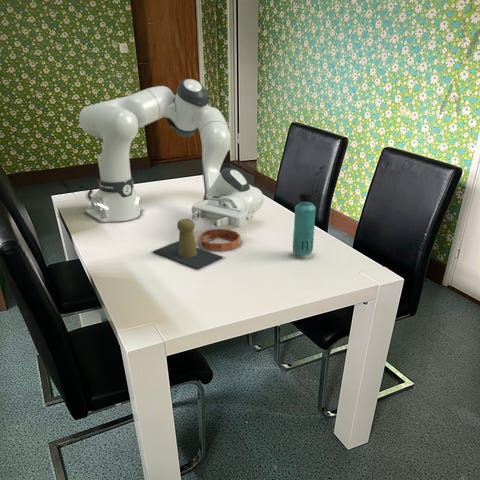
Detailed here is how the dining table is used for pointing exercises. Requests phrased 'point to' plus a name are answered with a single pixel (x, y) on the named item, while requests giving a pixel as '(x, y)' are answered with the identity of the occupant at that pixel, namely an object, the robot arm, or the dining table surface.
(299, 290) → the dining table surface
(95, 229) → the dining table surface
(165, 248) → the mat
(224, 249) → the orange ring
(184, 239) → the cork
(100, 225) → the dining table surface
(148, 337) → the dining table surface
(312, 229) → the beverage bottle
